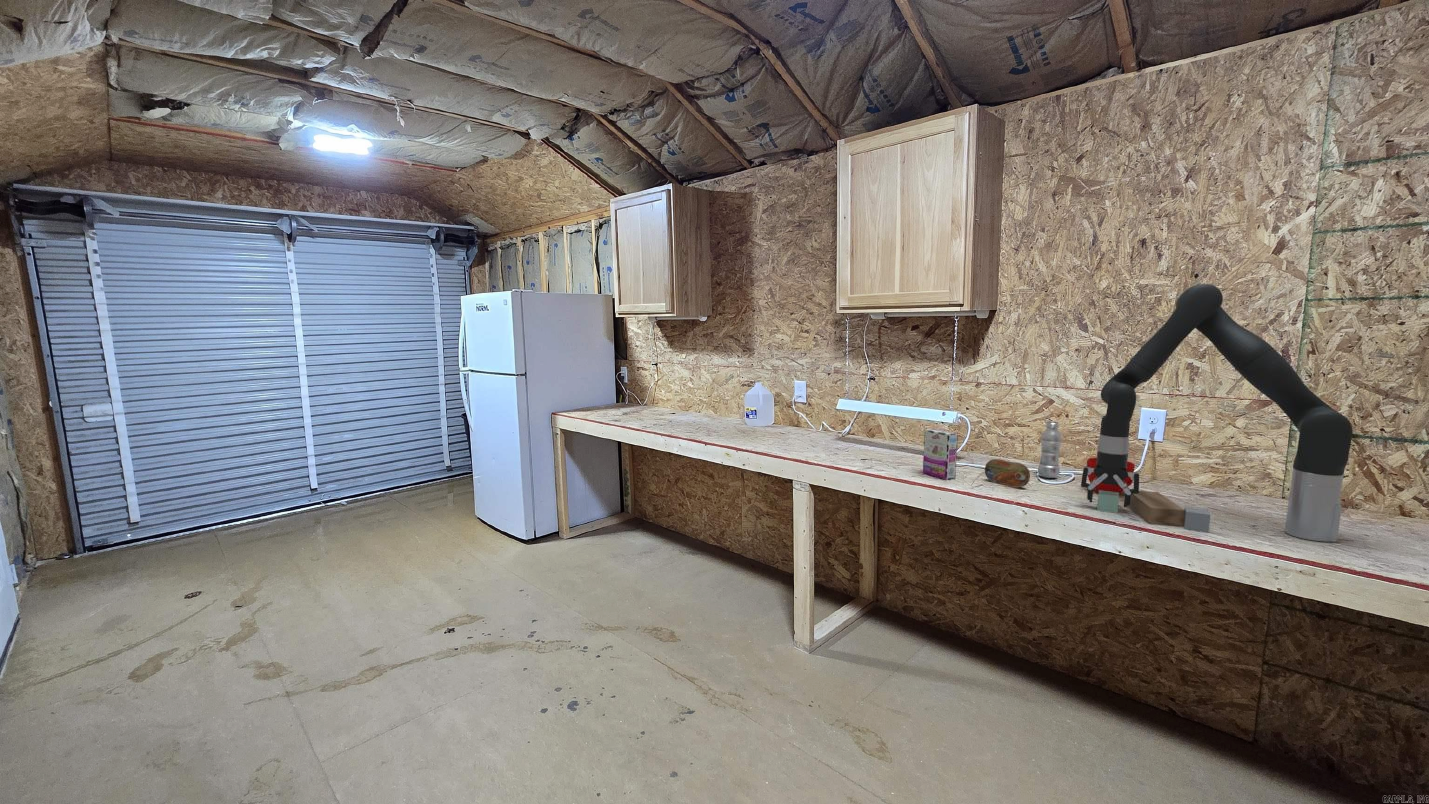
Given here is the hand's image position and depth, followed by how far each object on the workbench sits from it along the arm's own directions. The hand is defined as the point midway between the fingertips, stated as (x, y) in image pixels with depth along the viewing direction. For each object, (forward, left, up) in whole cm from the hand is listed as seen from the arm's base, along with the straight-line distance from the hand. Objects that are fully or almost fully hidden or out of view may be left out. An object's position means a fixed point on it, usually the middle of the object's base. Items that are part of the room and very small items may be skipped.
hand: (1107, 503), depth 178 cm
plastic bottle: (+18, -31, -2) cm, 36 cm away
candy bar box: (+51, -12, -2) cm, 52 cm away
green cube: (0, 0, -2) cm, 2 cm away
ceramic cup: (-1, -20, -2) cm, 20 cm away
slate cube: (-20, +6, -2) cm, 21 cm away
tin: (+29, -13, -2) cm, 32 cm away
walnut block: (-11, -1, -2) cm, 11 cm away
